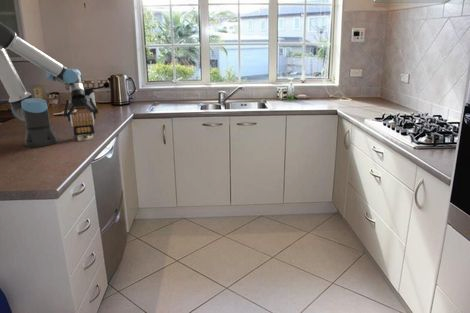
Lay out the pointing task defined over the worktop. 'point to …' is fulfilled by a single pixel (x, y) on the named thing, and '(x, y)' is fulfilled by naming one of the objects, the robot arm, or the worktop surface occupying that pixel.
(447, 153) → the worktop surface
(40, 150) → the worktop surface
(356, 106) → the worktop surface
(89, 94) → the glass holder
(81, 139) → the plate
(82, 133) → the ammunition clip
